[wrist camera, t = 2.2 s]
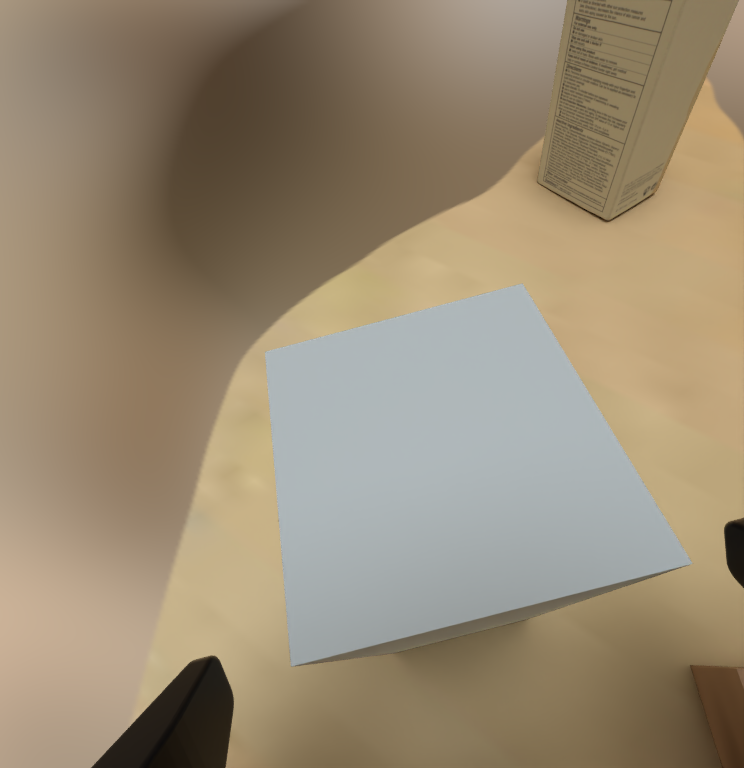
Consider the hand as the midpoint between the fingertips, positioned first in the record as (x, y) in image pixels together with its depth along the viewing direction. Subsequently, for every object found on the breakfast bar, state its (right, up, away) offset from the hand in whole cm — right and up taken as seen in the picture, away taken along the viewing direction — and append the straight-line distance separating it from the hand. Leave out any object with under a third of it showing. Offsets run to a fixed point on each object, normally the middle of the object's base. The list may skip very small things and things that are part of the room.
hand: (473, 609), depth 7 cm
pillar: (+1, -3, +9) cm, 10 cm away
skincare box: (+13, +17, +20) cm, 29 cm away
